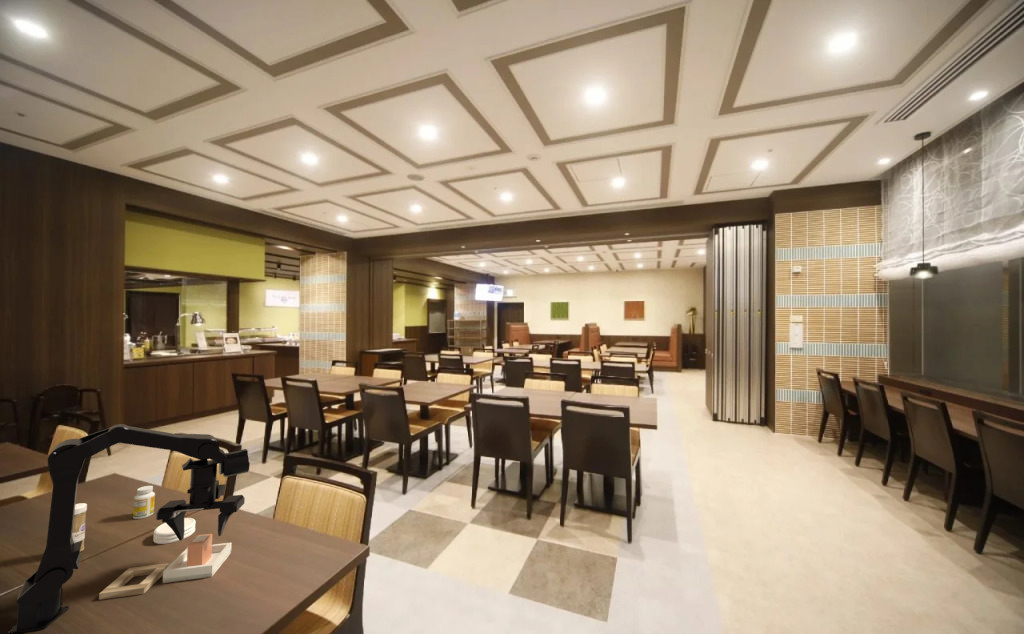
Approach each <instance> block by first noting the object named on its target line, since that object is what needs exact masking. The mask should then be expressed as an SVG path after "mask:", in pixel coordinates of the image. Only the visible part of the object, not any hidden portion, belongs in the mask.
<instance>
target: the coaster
mask: <svg viewBox="0 0 1024 634" xmlns="http://www.w3.org/2000/svg"><path fill="white" fill-rule="evenodd" d="M196 526H197V525H196V520H195V519H194V518H192V517H184V538H183V539H182V540H185V539H186V538H188V537H190V536H191V535H193V534H194V533H195V532H196ZM152 541H153V542H154V544H158V545H167V544H172V543H175V542H179V541H180V542H181V540H179V539H178V537H177V536H176V534H175V533H174V531H173V530H172V529H171V528H170V527H169V526H168V525H167V523H165V522H164V523H162V524H160V525H159V526H157V527H156V528H155V529H154V530H153V539H152Z"/></svg>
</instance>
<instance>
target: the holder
mask: <svg viewBox="0 0 1024 634" xmlns="http://www.w3.org/2000/svg"><path fill="white" fill-rule="evenodd" d="M169 565H170V563H168V562H167V563H160V564H159V563H158V564H151V565H142V566H134V567H128V568H127V569H126V570H125V571H124V572H123V573H121V575H119V576H118V577H117V578H115V580H114V581H112V582H111V583H110V584H109V585H108V586H106V587H105V588H104V589H103V590H102V591H101V592H99V595H98V600H99V601H101V600H107V599H116V598H123V597H129V596H136V595H137V596H138V595H144V594H145V593H146V592H147V591H148V590H149V589H150V588H152V586H153V585H154V584H155V583H157V581H159V580H160V578H162V577H163V571H164V570H165V569H166V568H167V567H168V566H169ZM142 576H146V578H145V579H143V580H142V581H140V583H139V584H132V585H131V584H130V585H126V584H128V582H130V580H131V579H133V578H134V577H142Z"/></svg>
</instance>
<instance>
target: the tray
mask: <svg viewBox="0 0 1024 634" xmlns="http://www.w3.org/2000/svg"><path fill="white" fill-rule="evenodd" d="M232 544H233V543H232V542H224V543H216V544H215V543H214V544H213V543H212V554H211V558H210V559H209V560H208V561H207V563H206V564H205V565H198V566H190V567H187V552H188V547H186V549H185V550H184V551H182V552H181V553H180V554H179V556H177V558H175V559H174V560H173V561H172V562H171V563H169V566H168V567H167V568H166V569H165V570H164V571H163V575H162V584H166V583H168V584H169V583H172V582H173V583H175V582H181V581H182V582H183V581H188V580H189V581H191V580H197V579H204V578H205V579H206V578H212V577H213V576H214V575H215V573H216V572H217V571H218V570H219V568H220V567H221V566H222V565H223V564H224V563H225V562H226V560H227V558H229V556H230V555H231V553H232Z"/></svg>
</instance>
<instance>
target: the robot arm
mask: <svg viewBox="0 0 1024 634" xmlns="http://www.w3.org/2000/svg"><path fill="white" fill-rule="evenodd" d="M117 444H124V445H130V446H131V445H132V446H139V447H140V446H141V447H145V448H153V449H159V450H161V449H162V450H167V451H174V452H177V453H180V454H182V455H184V456H187V457H190V458H189V459H188V460H187V461H186V462H184V463H183V464H182V465H181V468H182V470H183V471H188V470H190V484H189V488H188V489H187V492H186V494H188V495H189V503H187V501H186V500H185V499H179V500H177V499H176V500H169V501H168V502H167V503H165V504H164V505H162V506H161V507H160V508H159V509H157V511H156V515H155V516H156V517H155V519H156V521H161V523H162V524H164V523H167V525H168V526H169V527H170V528H171V529H172V530H173V531H174V533H175V534H176V536H177V537H178V539H179V540H180V541H183V540H184V539H183V538H184V518H186V517H185V515H186V513H187V512H195V511H197V512H198V511H206V510H207V511H208V510H217V509H219V512H220V513H219V514H218V517H217V519H218V520H217V524H218V525H217V536H218V537H221V536H222V535H223V533H224V530H225V529H226V526H227V523H228V521H229V519H230V517H231V516H232V515H233V514H234V513H237V512H238V511H239V509H241V507H243V506H244V504H245V501H246V500H245V497H244V495H243V494H235V495H228V496H227V497H226V498H225V499H224V500H219V499H220V498H221V496H225V494H226V488H227V484H226V483H225V484H224V483H223V484H220V480H218V479H217V478H218V476H217V475H218V474H217V473H219V475H222V476H223V477H224V478H227V477H231V476H237V475H241V474H246V473H248V472H250V464H251V463H250V461H249V450H248V449H246V448H244V449H239V450H236V451H231V452H225V450H224V449H221V448H220V444H219V442H218V440H217V439H216V437H214V435H212V434H209V433H208V434H207V433H203V434H202V433H192V434H191V433H190V434H178V433H173V432H165V431H160V430H154V429H147V428H142V427H136V426H129V425H127V424H124V423H119V424H114V425H112V426H111V427H108V428H106V429H102V430H99V431H96V432H94V433H90V434H88V435H85V436H83V437H80V438H70V439H65V440H63V441H61V442H59V443H57V444H56V445H55V446H54V448H53V449H52V451H51V452H50V453H49V455H48V457H47V466H48V472H49V478H50V479H51V483H52V492H51V500H50V501H51V502H50V510H49V519H48V529H47V535H46V546H45V549H44V551H43V554H42V557H41V560H40V563H39V565H38V568H37V570H36V571H35V572H34V573H32V574H31V575H30V576H29V577H28V578H27V579H25V581H24V582H23V585H22V587H21V590H20V592H19V594H18V597H17V599H16V603H17V617H16V618H17V620H16V624H15V625H14V626H12V627H11V628H12V629H13V630H12V631H10V633H11V632H13V634H19V633H25V632H32V631H39V630H44V629H46V628H47V627H49V625H51V624H52V623H53V622H55V621H56V620H57V619H59V618H60V617H61V616H62V615H63V614H64V613H66V612H67V611H68V610H69V609H70V605H64V606H62V605H63V593H64V588H63V585H64V584H66V583H67V582H68V581H69V580H71V579H72V577H73V573H74V570H78V569H79V568H80V563H81V559H82V555H81V553H80V549H81V545H82V541H79V542H76V543H74V541H73V538H72V531H73V522H74V513H75V504H77V503H76V502H77V494H78V493H77V492H78V485H79V483H78V482H79V477H80V475H81V471H82V470H83V466H84V463H85V460H86V459H87V458H88V459H89V458H91V457H92V456H94V455H97V454H98V453H101V452H103V451H105V450H107V449H108V448H110V447H112V446H115V445H117ZM192 458H193V459H192ZM194 459H196V460H194ZM15 632H16V633H15Z"/></svg>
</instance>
